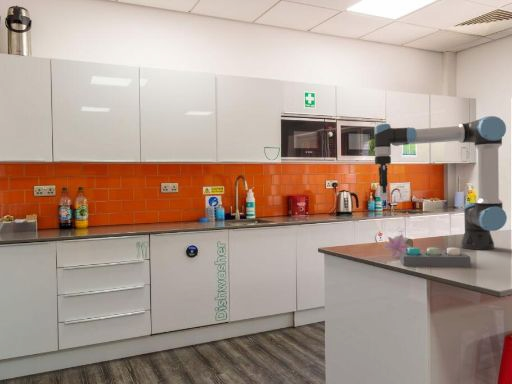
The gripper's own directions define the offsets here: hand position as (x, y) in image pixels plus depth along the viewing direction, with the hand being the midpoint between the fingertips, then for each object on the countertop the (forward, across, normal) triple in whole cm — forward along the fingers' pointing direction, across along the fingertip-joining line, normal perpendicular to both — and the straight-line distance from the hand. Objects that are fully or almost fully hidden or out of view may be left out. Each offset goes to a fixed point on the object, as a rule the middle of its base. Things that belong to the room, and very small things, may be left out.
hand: (383, 199), depth 214 cm
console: (+26, +26, +18) cm, 41 cm away
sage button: (+24, +26, +18) cm, 40 cm away
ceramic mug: (+27, -5, +10) cm, 29 cm away
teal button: (+24, +26, +10) cm, 37 cm away
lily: (+27, +10, +5) cm, 29 cm away
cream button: (+24, +26, +26) cm, 44 cm away
